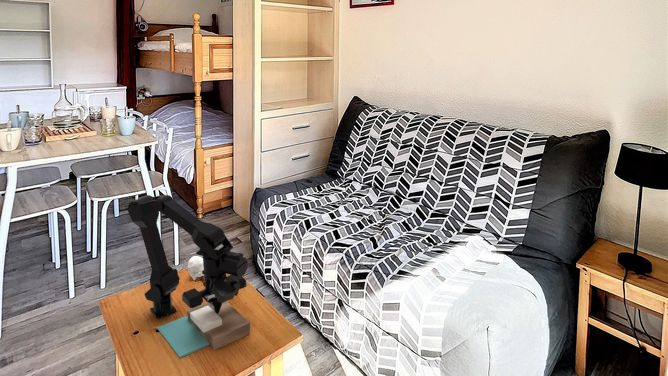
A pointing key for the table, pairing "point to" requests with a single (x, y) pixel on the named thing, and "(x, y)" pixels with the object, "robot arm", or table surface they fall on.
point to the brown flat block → (224, 326)
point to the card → (205, 318)
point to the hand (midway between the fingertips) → (217, 313)
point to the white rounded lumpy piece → (195, 267)
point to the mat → (183, 336)
